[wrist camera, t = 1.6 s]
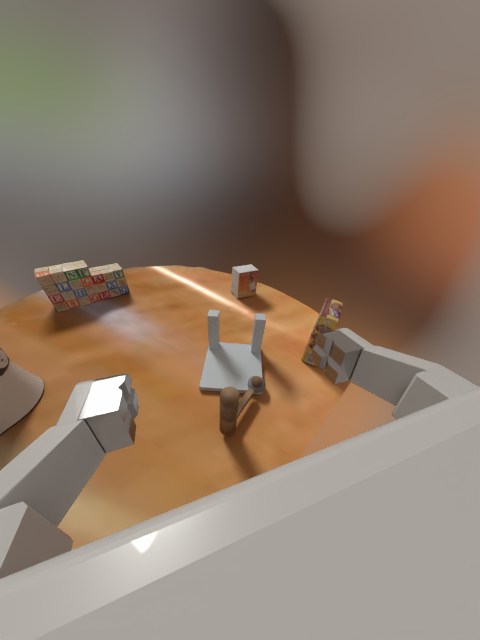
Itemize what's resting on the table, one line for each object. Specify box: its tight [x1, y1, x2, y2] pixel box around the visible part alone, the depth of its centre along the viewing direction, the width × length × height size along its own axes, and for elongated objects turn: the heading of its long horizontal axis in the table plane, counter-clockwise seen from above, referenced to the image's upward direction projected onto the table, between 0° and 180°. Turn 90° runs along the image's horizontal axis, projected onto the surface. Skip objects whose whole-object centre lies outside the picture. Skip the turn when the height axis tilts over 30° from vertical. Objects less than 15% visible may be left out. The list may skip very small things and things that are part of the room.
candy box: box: [302, 298, 343, 366], centre depth 51 cm, size 9×4×15 cm, turn 152°
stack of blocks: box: [35, 260, 130, 312], centre depth 66 cm, size 21×6×12 cm, turn 130°
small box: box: [231, 264, 258, 299], centre depth 75 cm, size 8×6×10 cm
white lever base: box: [199, 310, 266, 395], centre depth 46 cm, size 14×14×12 cm
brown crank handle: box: [220, 376, 262, 436], centre depth 38 cm, size 14×3×11 cm, turn 148°
